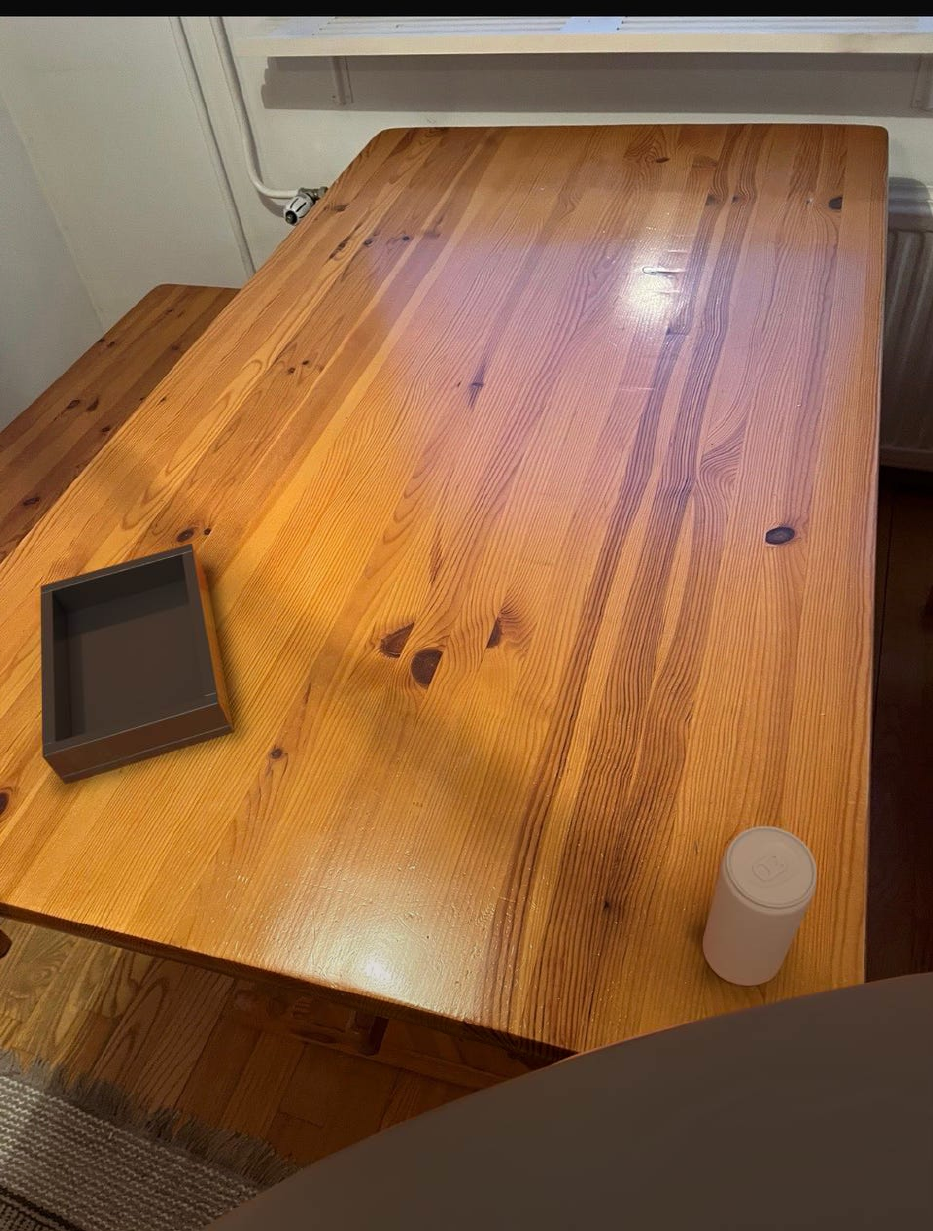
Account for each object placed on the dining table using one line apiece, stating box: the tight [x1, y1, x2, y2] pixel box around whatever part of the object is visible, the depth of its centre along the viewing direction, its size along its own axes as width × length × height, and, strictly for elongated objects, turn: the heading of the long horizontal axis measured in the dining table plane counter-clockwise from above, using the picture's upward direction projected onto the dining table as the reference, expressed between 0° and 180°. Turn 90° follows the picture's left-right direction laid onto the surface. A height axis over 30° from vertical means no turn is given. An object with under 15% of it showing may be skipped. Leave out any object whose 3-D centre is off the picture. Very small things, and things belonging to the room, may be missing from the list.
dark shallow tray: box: [40, 543, 235, 785], centre depth 75 cm, size 18×13×4 cm
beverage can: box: [702, 825, 818, 987], centre depth 53 cm, size 5×5×12 cm
